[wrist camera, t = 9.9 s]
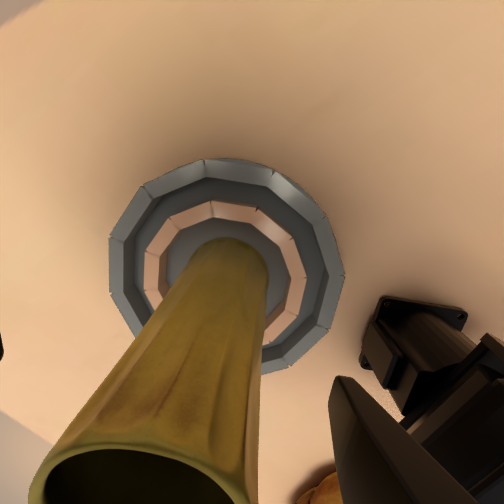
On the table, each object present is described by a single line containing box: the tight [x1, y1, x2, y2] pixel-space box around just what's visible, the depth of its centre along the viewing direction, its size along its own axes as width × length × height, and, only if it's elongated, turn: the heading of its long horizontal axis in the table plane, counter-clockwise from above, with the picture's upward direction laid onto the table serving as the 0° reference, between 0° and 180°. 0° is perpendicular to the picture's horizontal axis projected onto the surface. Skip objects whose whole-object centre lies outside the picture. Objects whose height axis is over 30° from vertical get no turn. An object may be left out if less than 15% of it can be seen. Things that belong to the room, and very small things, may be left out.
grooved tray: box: [109, 158, 345, 375], centre depth 19 cm, size 16×16×2 cm
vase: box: [28, 238, 269, 504], centre depth 13 cm, size 6×6×14 cm
